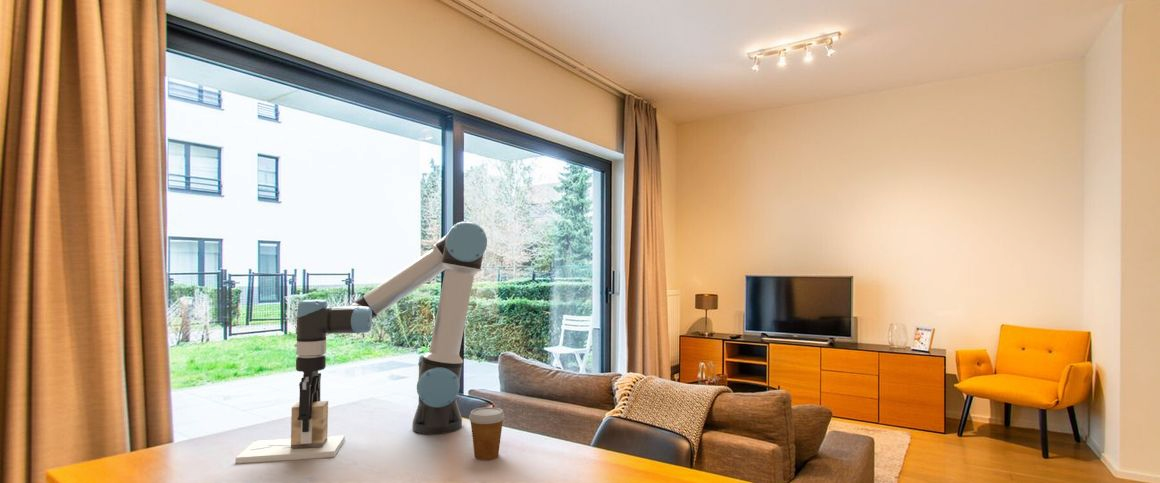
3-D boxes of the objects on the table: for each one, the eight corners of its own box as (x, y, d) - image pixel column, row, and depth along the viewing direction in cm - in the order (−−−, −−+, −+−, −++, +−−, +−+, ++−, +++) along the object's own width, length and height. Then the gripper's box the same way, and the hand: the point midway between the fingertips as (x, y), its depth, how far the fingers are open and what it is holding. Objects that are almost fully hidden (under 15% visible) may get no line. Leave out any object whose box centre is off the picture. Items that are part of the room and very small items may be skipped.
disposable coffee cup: (510, 452, 156) (510, 408, 157) (494, 464, 147) (494, 417, 148) (479, 448, 159) (479, 405, 160) (461, 460, 150) (462, 414, 151)
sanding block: (327, 440, 162) (328, 400, 162) (322, 446, 156) (323, 406, 156) (296, 441, 160) (297, 402, 161) (290, 448, 154) (291, 407, 155)
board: (344, 440, 167) (344, 435, 167) (334, 456, 153) (334, 451, 153) (254, 446, 162) (254, 440, 162) (235, 463, 148) (235, 457, 148)
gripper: (305, 350, 167) (304, 430, 167) (286, 361, 149) (284, 451, 148) (332, 349, 169) (331, 428, 168) (317, 361, 150) (315, 449, 150)
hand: (309, 439), depth 158 cm, fingers closed on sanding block, 6 cm apart
